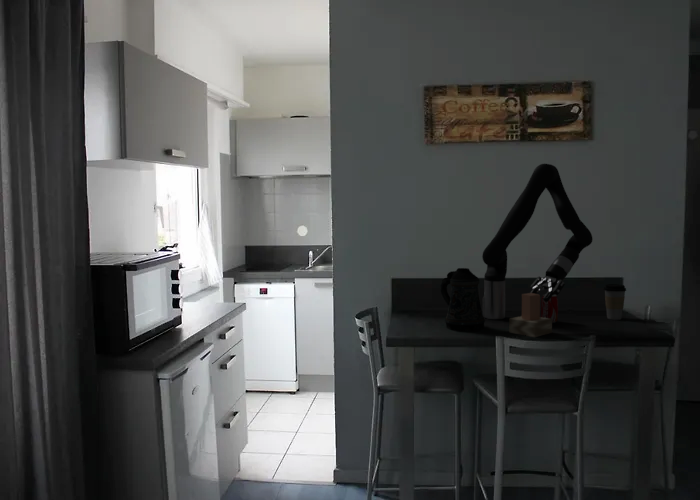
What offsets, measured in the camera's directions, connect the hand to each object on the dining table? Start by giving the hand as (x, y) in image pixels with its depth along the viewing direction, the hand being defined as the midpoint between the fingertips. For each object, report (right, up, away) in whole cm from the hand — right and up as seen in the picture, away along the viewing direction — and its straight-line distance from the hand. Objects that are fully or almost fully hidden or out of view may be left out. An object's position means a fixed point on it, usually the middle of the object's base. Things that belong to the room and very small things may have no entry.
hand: (537, 299), depth 254 cm
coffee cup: (+42, -11, +27) cm, 51 cm away
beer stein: (-29, -13, +11) cm, 34 cm away
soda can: (+11, -12, +20) cm, 26 cm away
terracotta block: (-3, -8, -1) cm, 9 cm away
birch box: (-3, -14, 0) cm, 14 cm away
